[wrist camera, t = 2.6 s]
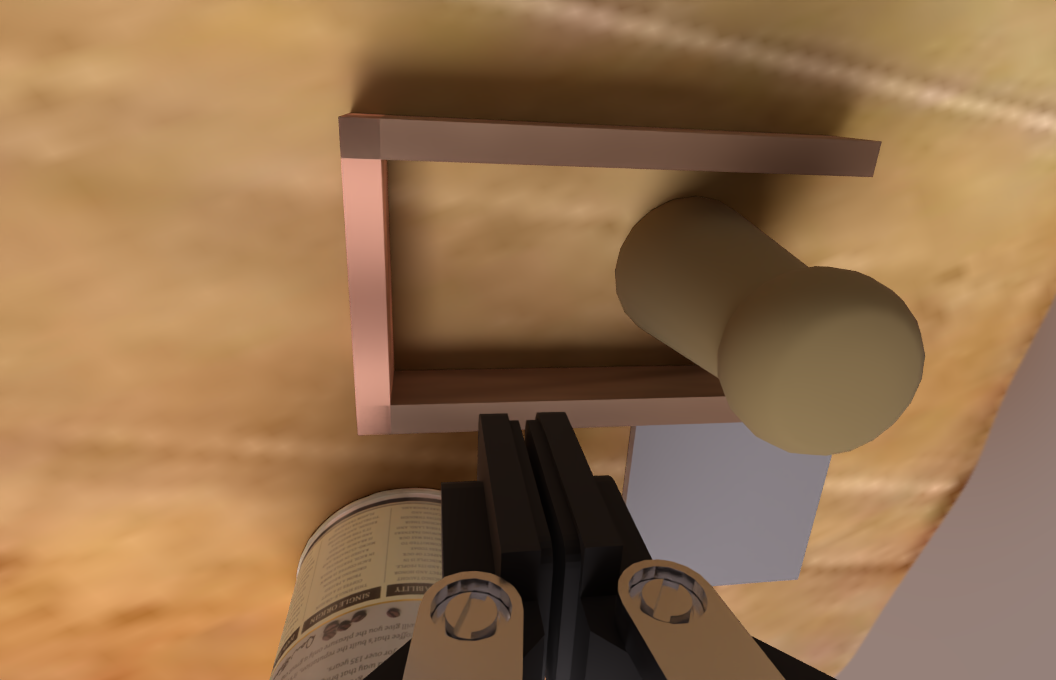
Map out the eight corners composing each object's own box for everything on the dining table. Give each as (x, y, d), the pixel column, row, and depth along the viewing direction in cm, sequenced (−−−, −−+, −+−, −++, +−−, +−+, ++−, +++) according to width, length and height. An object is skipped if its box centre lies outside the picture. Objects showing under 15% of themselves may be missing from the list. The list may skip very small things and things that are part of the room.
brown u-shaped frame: (349, 112, 21) (338, 116, 18) (829, 135, 24) (881, 141, 21) (365, 397, 25) (357, 435, 22) (773, 387, 28) (811, 419, 25)
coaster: (633, 411, 27) (637, 417, 27) (835, 405, 29) (843, 411, 28) (610, 584, 31) (614, 593, 31) (791, 571, 33) (797, 579, 32)
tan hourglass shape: (587, 255, 24) (699, 372, 14) (716, 164, 24) (927, 220, 14) (658, 364, 27) (798, 530, 17) (777, 284, 26) (996, 407, 16)
